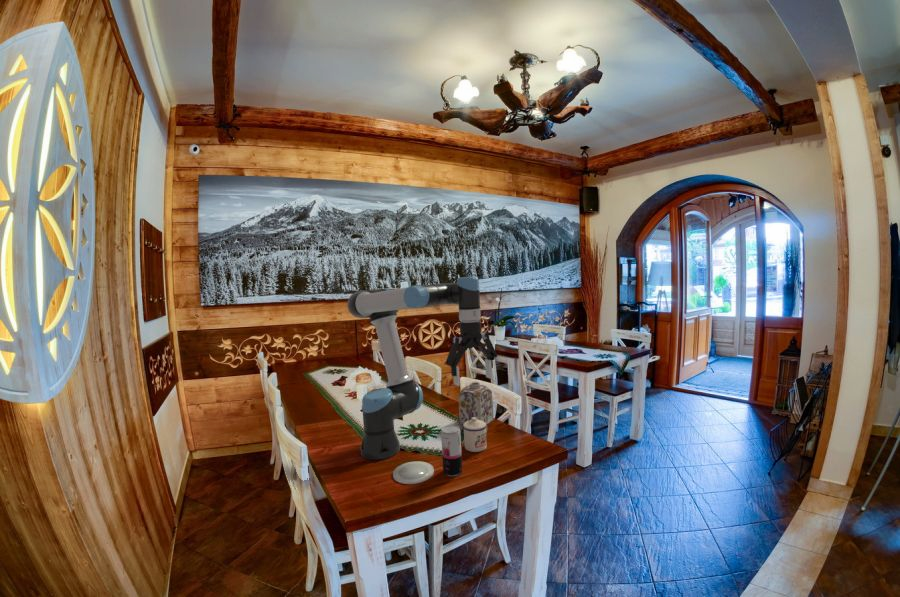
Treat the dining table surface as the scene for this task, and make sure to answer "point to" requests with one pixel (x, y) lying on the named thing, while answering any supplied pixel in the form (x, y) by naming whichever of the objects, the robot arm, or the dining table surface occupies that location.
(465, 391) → the decorative jar
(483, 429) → the teacup with lid
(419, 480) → the plate
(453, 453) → the beverage can
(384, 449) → the robot arm
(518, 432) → the dining table surface
